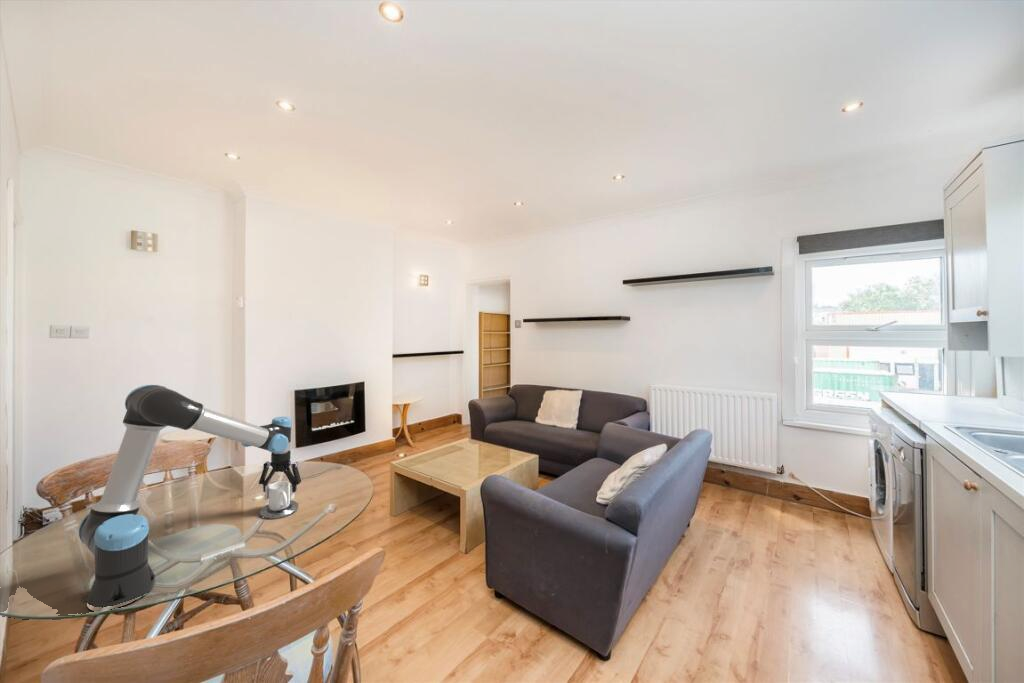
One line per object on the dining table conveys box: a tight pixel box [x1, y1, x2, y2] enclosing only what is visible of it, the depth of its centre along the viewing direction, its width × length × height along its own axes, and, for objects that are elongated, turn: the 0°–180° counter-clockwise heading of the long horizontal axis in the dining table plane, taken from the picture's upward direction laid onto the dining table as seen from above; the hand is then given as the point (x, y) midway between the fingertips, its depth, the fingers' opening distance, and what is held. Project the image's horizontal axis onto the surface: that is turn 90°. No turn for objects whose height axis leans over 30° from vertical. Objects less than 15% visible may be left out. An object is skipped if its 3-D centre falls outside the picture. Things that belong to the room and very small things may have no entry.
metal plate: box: [259, 500, 299, 520], centre depth 173 cm, size 15×15×1 cm
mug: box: [268, 480, 291, 511], centre depth 172 cm, size 12×8×10 cm
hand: (279, 498), depth 173 cm, fingers open, 10 cm apart
